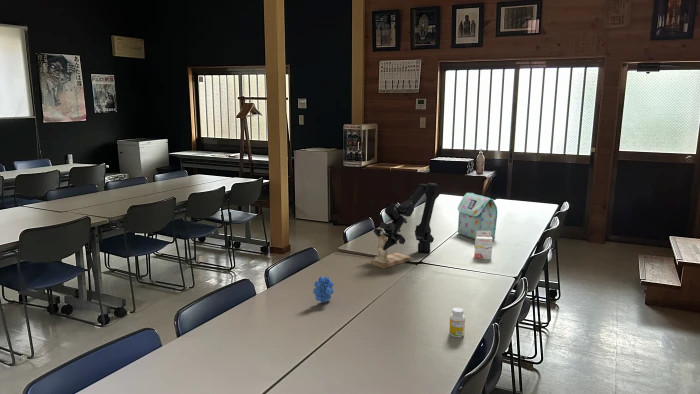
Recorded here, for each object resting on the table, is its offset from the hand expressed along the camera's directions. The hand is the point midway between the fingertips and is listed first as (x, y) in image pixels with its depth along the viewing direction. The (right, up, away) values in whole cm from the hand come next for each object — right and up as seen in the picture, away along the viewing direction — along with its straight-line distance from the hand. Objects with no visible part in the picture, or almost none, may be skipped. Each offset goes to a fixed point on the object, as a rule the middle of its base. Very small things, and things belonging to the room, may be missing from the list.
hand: (381, 249), depth 263 cm
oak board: (+5, -7, +6) cm, 11 cm away
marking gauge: (+1, -6, +2) cm, 7 cm away
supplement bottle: (+23, -24, -76) cm, 83 cm away
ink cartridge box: (+57, -6, +14) cm, 59 cm away
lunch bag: (+63, +2, +57) cm, 85 cm away
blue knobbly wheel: (-27, -18, -48) cm, 58 cm away
